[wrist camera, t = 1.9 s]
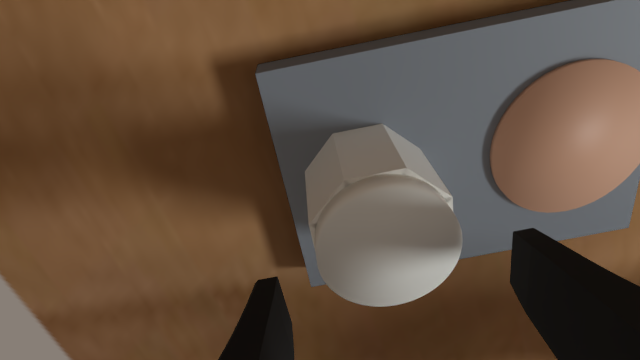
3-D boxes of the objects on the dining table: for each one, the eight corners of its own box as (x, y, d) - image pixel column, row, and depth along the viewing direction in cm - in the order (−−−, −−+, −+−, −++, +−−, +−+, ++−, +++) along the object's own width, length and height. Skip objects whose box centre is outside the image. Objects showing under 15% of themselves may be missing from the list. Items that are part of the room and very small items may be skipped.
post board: (651, -17, 16) (782, -6, 12) (607, 210, 22) (688, 275, 17) (257, 64, 17) (247, 103, 12) (309, 267, 22) (315, 344, 18)
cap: (417, 116, 17) (462, 173, 12) (424, 216, 19) (465, 293, 15) (297, 140, 17) (300, 204, 13) (319, 236, 19) (329, 318, 15)
